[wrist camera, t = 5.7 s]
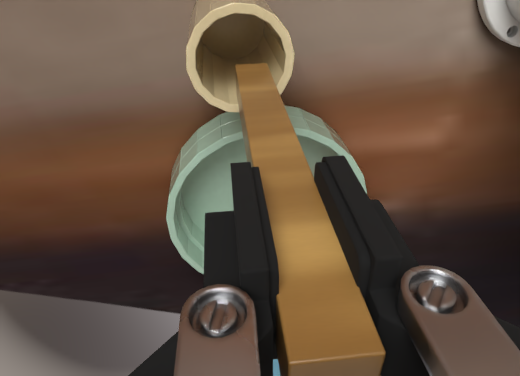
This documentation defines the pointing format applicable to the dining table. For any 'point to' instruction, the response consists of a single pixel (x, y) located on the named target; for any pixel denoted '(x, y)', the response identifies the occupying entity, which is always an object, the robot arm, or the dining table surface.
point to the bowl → (219, 173)
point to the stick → (304, 247)
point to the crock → (235, 47)
